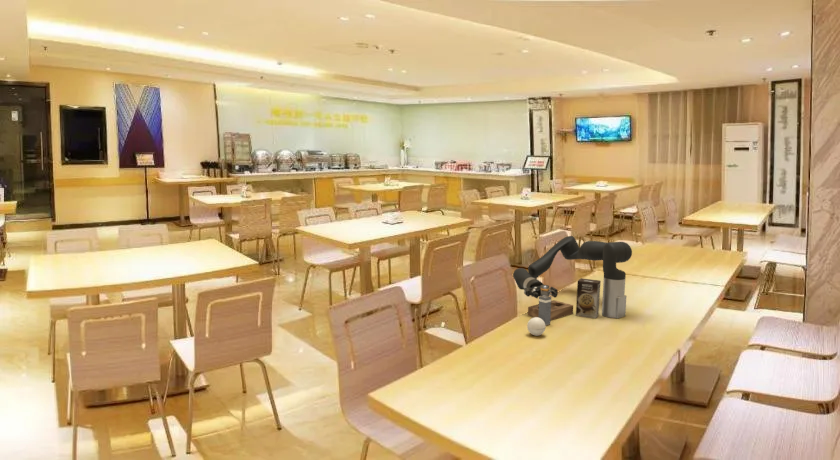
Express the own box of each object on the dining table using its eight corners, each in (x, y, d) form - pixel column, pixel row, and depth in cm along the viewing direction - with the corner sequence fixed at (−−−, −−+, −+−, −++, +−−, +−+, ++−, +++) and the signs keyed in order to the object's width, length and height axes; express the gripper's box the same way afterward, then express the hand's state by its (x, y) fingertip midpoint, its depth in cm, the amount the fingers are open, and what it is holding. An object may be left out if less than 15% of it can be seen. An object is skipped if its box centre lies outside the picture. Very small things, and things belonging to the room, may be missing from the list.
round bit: (549, 316, 267) (551, 285, 265) (544, 318, 265) (545, 287, 262) (543, 314, 270) (544, 284, 268) (538, 316, 267) (538, 285, 265)
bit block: (572, 313, 271) (573, 305, 271) (547, 321, 260) (547, 312, 259) (553, 308, 280) (553, 300, 279) (527, 315, 268) (528, 306, 268)
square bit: (550, 324, 256) (551, 296, 254) (544, 325, 254) (545, 298, 252) (543, 322, 259) (544, 295, 257) (538, 323, 257) (538, 296, 255)
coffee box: (575, 315, 268) (576, 280, 266) (578, 312, 274) (580, 277, 271) (596, 318, 264) (597, 283, 262) (599, 315, 270) (600, 279, 267)
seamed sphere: (531, 338, 237) (532, 321, 236) (523, 333, 244) (524, 315, 243) (554, 336, 240) (555, 319, 239) (546, 331, 247) (546, 313, 246)
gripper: (547, 294, 281) (561, 303, 265) (518, 295, 279) (530, 304, 263) (548, 278, 280) (562, 286, 264) (519, 279, 278) (531, 288, 262)
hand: (546, 295), depth 264 cm, fingers open, 8 cm apart
